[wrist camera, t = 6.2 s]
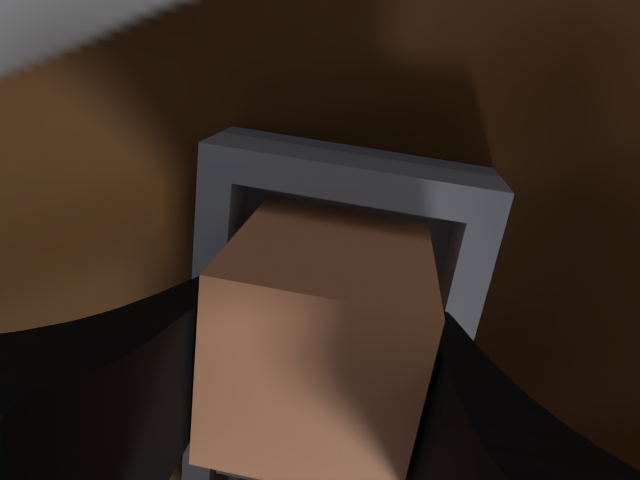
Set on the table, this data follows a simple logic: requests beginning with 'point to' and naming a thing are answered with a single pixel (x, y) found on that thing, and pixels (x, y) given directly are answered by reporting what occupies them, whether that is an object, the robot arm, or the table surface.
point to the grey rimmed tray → (354, 207)
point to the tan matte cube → (315, 345)
